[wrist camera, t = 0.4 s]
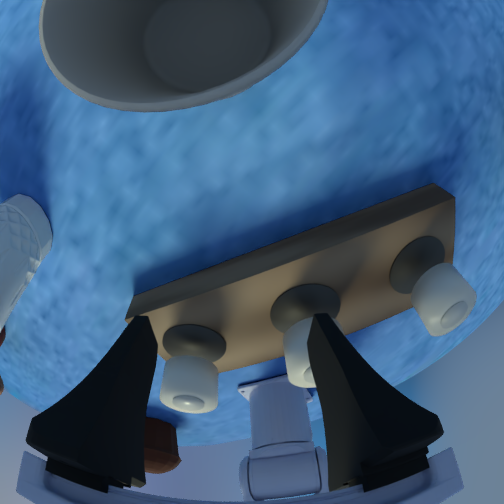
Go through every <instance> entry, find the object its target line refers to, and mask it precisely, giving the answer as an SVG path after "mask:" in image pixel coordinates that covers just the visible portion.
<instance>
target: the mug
mask: <svg viewBox="0 0 504 504" xmlns="http://www.w3.org/2000/svg"><path fill="white" fill-rule="evenodd" d="M327 3H328V0H43V2H42V6H41V11H40V19H39V37H40V44H41V48H42V52H43V55H44V57H45V60H46V62H47V64H48V66H49V68H50V69H51V71H52V72H53V74H54V75H55V76H56V78H57V79H58V80H59V81H60V82H61V83H62V84H63V85H64V86H65V87H67V88H68V89H69V90H71V91H72V92H73V93H75V94H76V95H78V96H80V97H82V98H84V99H86V100H88V101H89V102H92V103H95V104H98V105H101V106H103V107H107V108H112V109H117V110H122V111H133V112H165V111H172V110H180V109H187V108H191V107H195V106H200V105H205V104H208V103H211V102H214V101H217V100H222V99H226V98H229V97H232V96H234V95H237V94H239V93H241V92H243V91H245V90H247V89H248V88H250V87H251V86H253V85H254V84H256V83H257V82H259V81H261V80H263V79H264V78H266V77H267V76H268V75H270V74H271V73H273V72H274V71H276V70H277V69H279V68H280V67H281V66H282V65H283V64H284V63H286V62H287V61H288V60H289V59H290V58H291V57H293V56H294V55H295V54H296V53H297V52H298V51H299V49H300V48H301V47H302V46H303V45H304V44H305V43H306V42H307V41H308V39H309V38H310V36H311V35H312V33H313V32H314V31H315V29H316V28H317V26H318V25H319V22H320V20H321V18H322V16H323V14H324V12H325V10H326V7H327Z"/></svg>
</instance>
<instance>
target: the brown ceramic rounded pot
mask: <svg viewBox="0 0 504 504" xmlns="http://www.w3.org/2000/svg"><path fill="white" fill-rule="evenodd" d="M5 335H6V333H5V329H4V327H3V329H2V330H1V332H0V346H1V345H2V343H3V341H4V339H5ZM3 389H4V384H3V381H2V378H1V376H0V395H1V394H2V392H3Z"/></svg>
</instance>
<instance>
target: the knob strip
mask: <svg viewBox="0 0 504 504" xmlns="http://www.w3.org/2000/svg"><path fill="white" fill-rule="evenodd" d="M454 237H455V197H454V196H453V195H451V194H450V193H448V192H447V191H445V190H444V189H442V188H441V187H439V186H438V185H436V184H435V183H432V184H429V185H427V186H424V187H421V188H419V189H416V190H413V191H411V192H408V193H405V194H403V195H400V196H397V197H395V198H392V199H389V200H387V201H384V202H382V203H379V204H376V205H374V206H371V207H368V208H366V209H363V210H360V211H358V212H355V213H352V214H350V215H347V216H344V217H342V218H339V219H336V220H334V221H331V222H328V223H326V224H323V225H321V226H318V227H315V228H313V229H310V230H307V231H305V232H302V233H299V234H297V235H294V236H291V237H289V238H286V239H283V240H281V241H278V242H276V243H273V244H270V245H268V246H265V247H262V248H260V249H257V250H254V251H252V252H249V253H246V254H244V255H241V256H238V257H236V258H233V259H231V260H228V261H225V262H223V263H220V264H217V265H215V266H212V267H209V268H207V269H204V270H201V271H199V272H196V273H194V274H191V275H188V276H186V277H183V278H180V279H178V280H175V281H172V282H170V283H167V284H164V285H162V286H159V287H157V288H154V289H151V290H149V291H146V292H143V293H141V294H138V295H135V296H133V299H132V301H131V304H130V306H129V309H128V312H127V314H126V317H125V321H126V322H127V323H128V324H129V323H130V322H131V320H132V319H133V318H134V316H135V315H141V316H148V317H149V320H150V323H151V326H152V329H153V332H154V334H155V337H156V340H157V343H158V352H157V353H158V354H159V355H160V356H161V357H162V358H163V359H164V360H165V361H167V360H168V359H170V358H172V357H175V356H180V355H191V356H197V357H201V358H204V359H206V360H208V361H210V362H212V363H213V364H214V365H215V366H216V367H217V369H218V373H221V372H225V371H230V370H234V369H238V368H242V367H246V366H250V365H254V364H258V363H261V362H265V361H268V360H272V359H275V358H279V357H282V356H285V355H284V349H283V343H282V339H283V336H284V334H285V332H286V331H287V330H288V329H289V328H290V327H291V326H293V325H294V324H296V323H297V322H299V321H301V320H304V319H307V318H310V317H313V315H314V314H317V313H328V314H329V315H330V317H331V318H334V319H336V320H337V321H338V322H339V323H340V324H341V326H342V329H343V332H344V334H345V335H348V334H350V333H353V332H356V331H358V330H361V329H363V328H366V327H368V326H371V325H373V324H376V323H378V322H380V321H383V320H385V319H387V318H390V317H392V316H394V315H397V314H399V313H401V312H403V311H405V310H408V309H410V308H412V307H413V305H412V303H411V293H412V290H413V288H414V286H415V284H416V283H417V281H418V280H419V279H420V277H421V276H422V275H423V274H424V273H425V272H426V271H428V270H429V269H430V268H432V267H433V266H435V265H438V264H440V263H450V264H453V253H454Z"/></svg>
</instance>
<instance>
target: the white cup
mask: <svg viewBox="0 0 504 504" xmlns="http://www.w3.org/2000/svg"><path fill="white" fill-rule="evenodd" d="M52 237H53V236H52V231H51V227H50V223H49V220H48V218H47V216H46V215H45V213H44V211H43V209H42V208H41V206H40V205H39V204H37V203H36V202H35V201H34V200H33V199H32V198H31V197H29V196H25V195H22V194H17V195H14V196H12V197H10V198H8V199H7V200H5V201H4V202H2V203H1V204H0V332H1V330H2V329H3V327H4V325H5V323H6V321H7V319H8V317H9V316H10V314H11V312H12V310H13V309H14V307H15V305H16V304H17V302H18V300H19V299H20V297H21V295H22V294H23V292H24V291H25V289H26V287H27V286H28V284H29V282H30V281H31V279H32V277H33V276H34V274H35V273H36V270H37V268H38V266H39V265H40V263H41V262H42V260H43V259H44V258H45V256H46V255H47V254H48V252H49V251H50V250H51V244H52Z"/></svg>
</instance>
